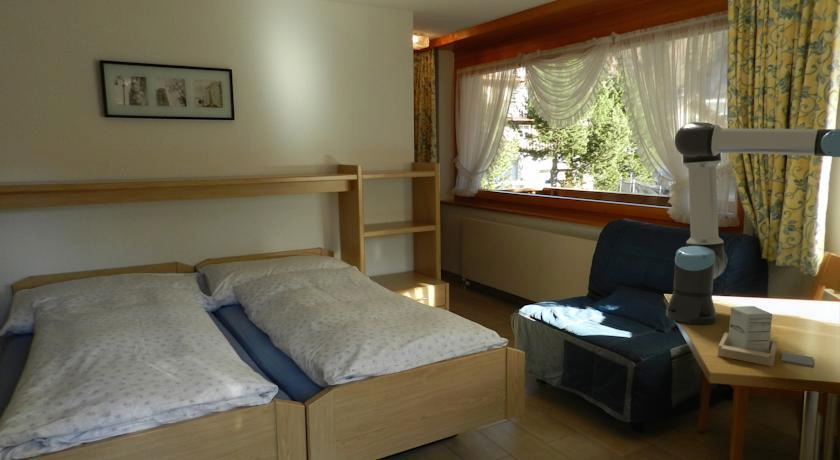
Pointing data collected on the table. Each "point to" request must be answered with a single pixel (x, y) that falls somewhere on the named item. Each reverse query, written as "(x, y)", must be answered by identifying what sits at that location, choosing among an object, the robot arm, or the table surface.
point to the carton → (747, 352)
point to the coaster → (797, 359)
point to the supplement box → (750, 328)
